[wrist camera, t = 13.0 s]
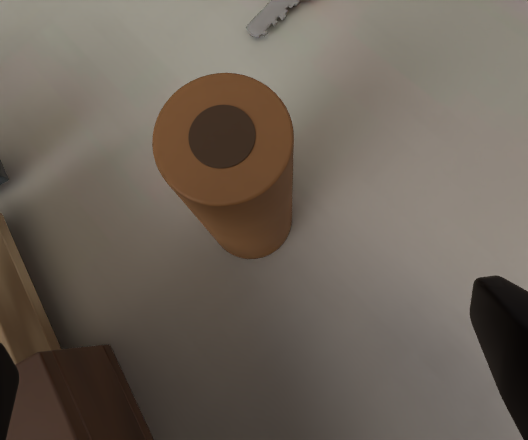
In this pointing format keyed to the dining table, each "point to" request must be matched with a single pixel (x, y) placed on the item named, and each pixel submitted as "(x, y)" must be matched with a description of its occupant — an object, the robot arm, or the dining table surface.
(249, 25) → the key chain
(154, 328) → the dining table surface
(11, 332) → the drawer
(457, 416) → the dining table surface
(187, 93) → the paper roll
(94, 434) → the cabinet
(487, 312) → the robot arm
